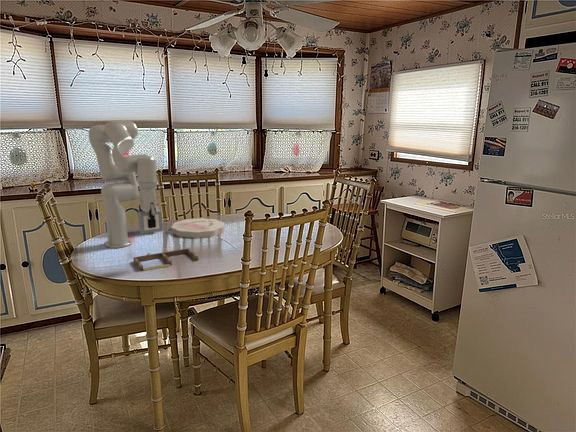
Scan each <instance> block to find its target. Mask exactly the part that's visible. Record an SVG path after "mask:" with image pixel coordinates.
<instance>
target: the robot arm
mask: <svg viewBox="0 0 576 432" xmlns="http://www.w3.org/2000/svg"><path fill="white" fill-rule="evenodd" d="M138 133H139V129H138V126H137V125H136V123H135V122H134V121H132V120H110V121H108V122H106V123H105V124H99V125H98V124H97V125H94V126H91V127H90V128H89V129H88V139H89V143H90V145H91V147H92V149H93V152H94V153H95V155H96V159H97V161H96V162H97V165H98V170H99V173H100V176H101V179H102V180H103V181H106V182H113V183H108V184H105V185H103V186H102V187H101V190H100V194H101V198H102V201H103V206H104V211H105V214H104V215H105V223H106V234H107V241H105V243H104V245H105V247H106V248H110V249H117V248H118V249H120V248H125V247H128V246H130V245H132V240H131V239H129V235H128V233H129V232H128V224H127V223H128V222H127V211H126V208H125V207H124V206H123V205H122V204H121V203H122V202H123V203H124V202H128V201H134V200H137V198H138V197H139V198H140V199H139V200H140V201H139V203H140V204H139V205H140V208H141V210H143V211H144V212H145V213H147V212H148V228H155V227H156V220H155V212H156V211H157V204H158V202H157V192H156V190H157V189H158V182H157V181H158V179H157V167H156V166H157V164H156V162H157V161H156V158H155V157H154V156H151V155H150V156H149V155H148V154H145V153H144V154H126V153H128V152H129V151H131V150H132V149H133V147H134V144H135V141H134V139H135V138H137V136H138ZM108 143H110V144H111V143H112V145H113V147H111V146H110V145H108ZM125 154H126V155H125ZM136 173H137V176H136ZM116 181H122V182H116ZM123 181H124V182H123ZM139 190H140V191H139ZM149 211H151V212H149ZM150 213H151V214H150Z"/></svg>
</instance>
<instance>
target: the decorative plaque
mask: <svg viewBox="0 0 576 432" xmlns="http://www.w3.org/2000/svg"><path fill="white" fill-rule="evenodd" d="M225 226H226V225H225V222H224V221H221V220H218V219H215V218H214V219H213V218H203V217H201V218H192V219H191V218H186V219H183V220H179V221H176V222H173V224H172V225H171V226H170V227H171V228H170V229H171V234H173V235H176V236H177V237H181V238H190V239H191V238H193V239H200V238H213V237H216V236H218V235H221V234H224V233H225Z"/></svg>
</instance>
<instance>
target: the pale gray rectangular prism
mask: <svg viewBox="0 0 576 432" xmlns="http://www.w3.org/2000/svg"><path fill="white" fill-rule="evenodd" d="M149 212H151V211H149ZM150 214H151V213H150ZM162 219H163V217H162V210H160V208H159V209H157V211H156V212H155V220H156V227H155V228H148V212H147V213H145V212H144V211H139V210H138V211H137V220H138V232H139V233H140V234H143V235H144V234H150V232H157V231H159V232H163V220H162ZM157 233H158V232H157Z"/></svg>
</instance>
